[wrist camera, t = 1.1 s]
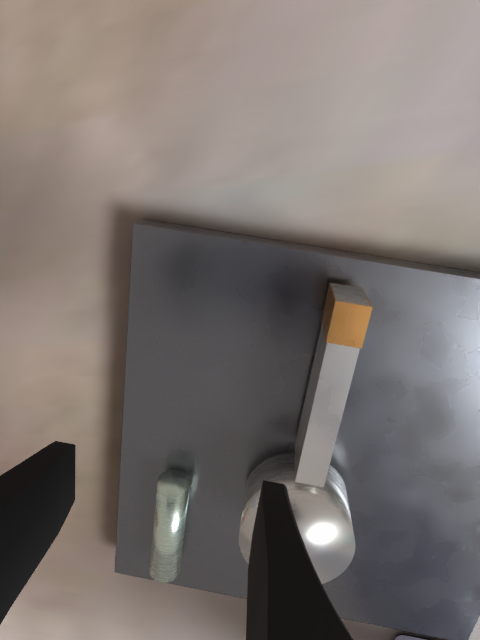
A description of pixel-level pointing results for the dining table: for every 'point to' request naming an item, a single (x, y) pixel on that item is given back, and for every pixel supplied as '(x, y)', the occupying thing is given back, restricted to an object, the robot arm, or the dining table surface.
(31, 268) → the dining table surface
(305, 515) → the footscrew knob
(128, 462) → the grey flat square slab
